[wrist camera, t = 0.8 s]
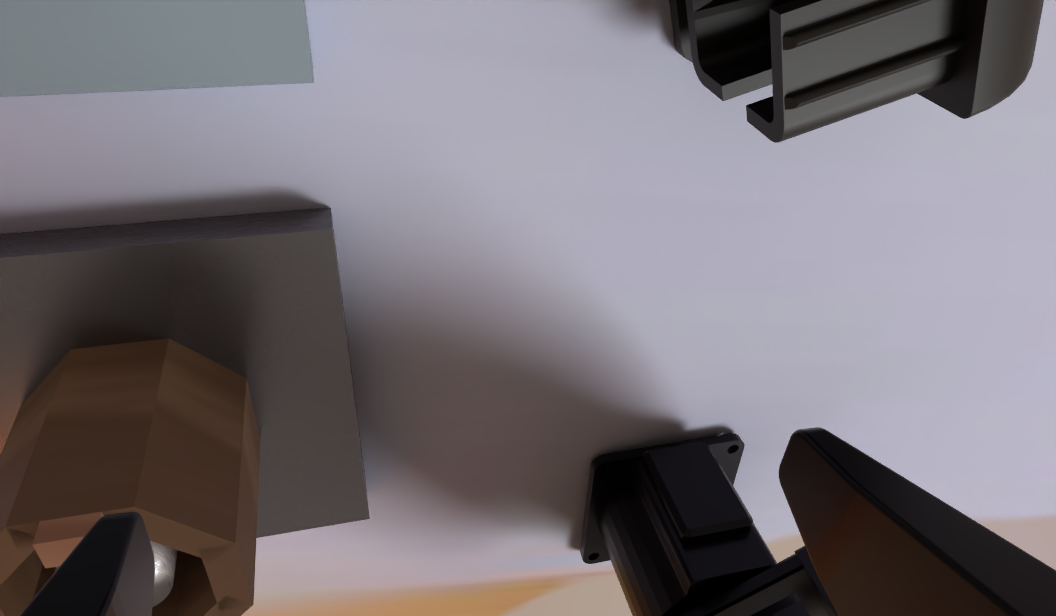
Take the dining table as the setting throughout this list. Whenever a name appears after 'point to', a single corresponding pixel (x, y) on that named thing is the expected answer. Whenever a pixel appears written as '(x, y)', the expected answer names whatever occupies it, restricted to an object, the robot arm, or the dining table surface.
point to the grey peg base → (150, 45)
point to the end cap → (856, 54)
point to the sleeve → (135, 471)
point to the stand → (206, 338)
